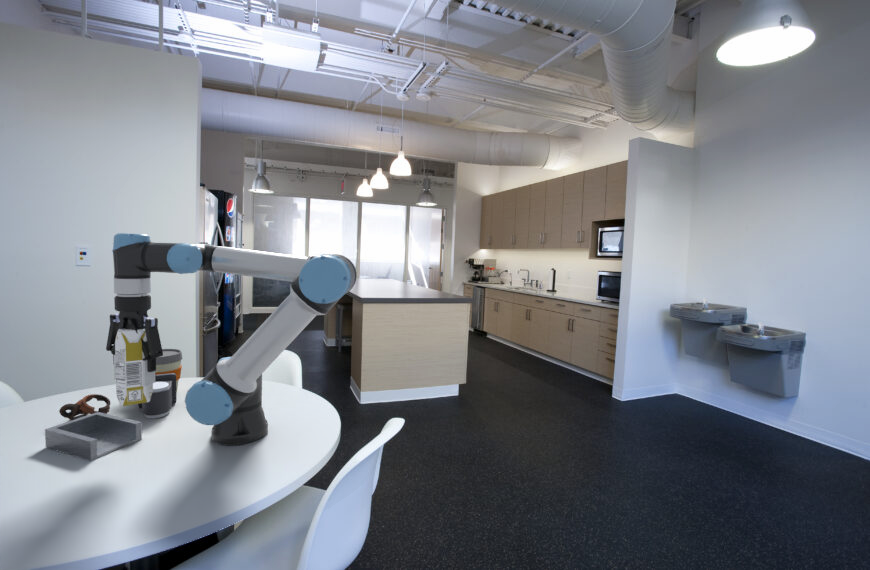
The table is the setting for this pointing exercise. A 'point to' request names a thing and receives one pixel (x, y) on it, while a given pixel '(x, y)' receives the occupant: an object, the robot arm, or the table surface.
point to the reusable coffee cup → (169, 363)
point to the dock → (93, 435)
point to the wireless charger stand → (161, 396)
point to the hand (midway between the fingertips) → (134, 380)
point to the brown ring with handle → (84, 407)
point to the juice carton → (130, 368)
